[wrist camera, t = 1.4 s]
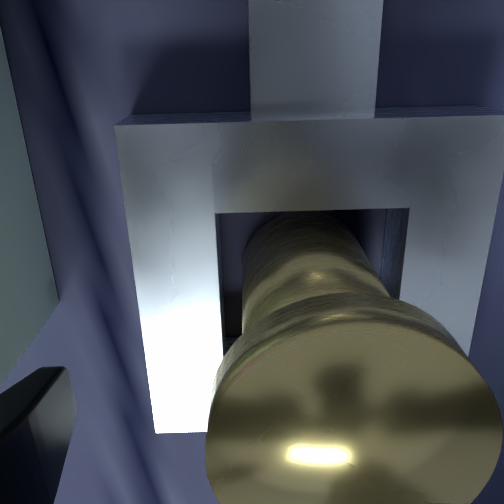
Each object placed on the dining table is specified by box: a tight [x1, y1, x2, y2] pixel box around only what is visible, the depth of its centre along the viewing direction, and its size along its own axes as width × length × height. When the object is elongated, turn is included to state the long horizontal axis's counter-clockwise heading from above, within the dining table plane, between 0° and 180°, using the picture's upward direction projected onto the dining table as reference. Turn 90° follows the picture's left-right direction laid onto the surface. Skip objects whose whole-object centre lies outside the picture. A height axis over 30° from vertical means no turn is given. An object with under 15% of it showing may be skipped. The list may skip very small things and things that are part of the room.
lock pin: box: [205, 210, 503, 504], centre depth 9 cm, size 4×4×6 cm
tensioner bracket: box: [114, 0, 504, 433], centre depth 9 cm, size 17×8×3 cm, turn 1°
